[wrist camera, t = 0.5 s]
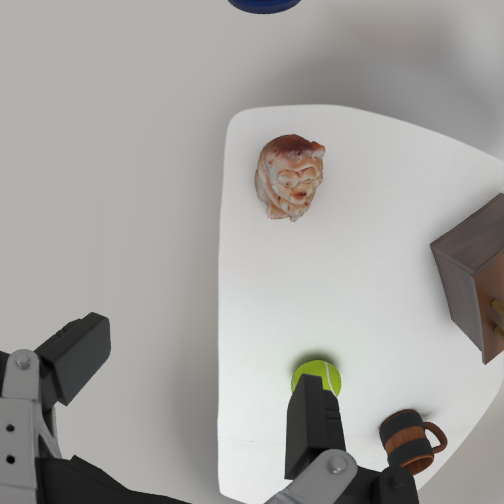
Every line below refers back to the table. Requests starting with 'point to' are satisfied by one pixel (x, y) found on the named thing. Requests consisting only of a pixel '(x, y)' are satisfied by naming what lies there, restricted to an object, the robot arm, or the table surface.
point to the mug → (410, 441)
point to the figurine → (289, 175)
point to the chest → (469, 261)
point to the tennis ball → (322, 369)
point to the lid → (490, 305)
